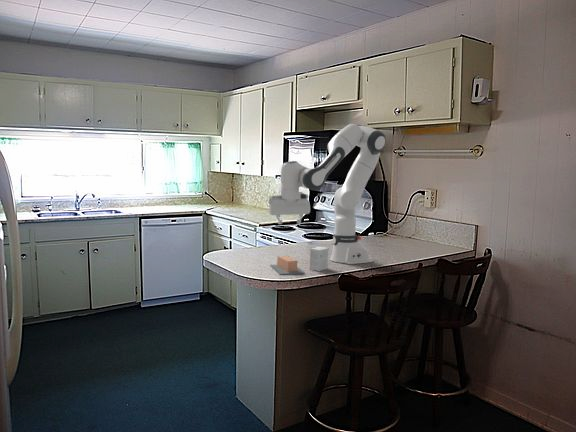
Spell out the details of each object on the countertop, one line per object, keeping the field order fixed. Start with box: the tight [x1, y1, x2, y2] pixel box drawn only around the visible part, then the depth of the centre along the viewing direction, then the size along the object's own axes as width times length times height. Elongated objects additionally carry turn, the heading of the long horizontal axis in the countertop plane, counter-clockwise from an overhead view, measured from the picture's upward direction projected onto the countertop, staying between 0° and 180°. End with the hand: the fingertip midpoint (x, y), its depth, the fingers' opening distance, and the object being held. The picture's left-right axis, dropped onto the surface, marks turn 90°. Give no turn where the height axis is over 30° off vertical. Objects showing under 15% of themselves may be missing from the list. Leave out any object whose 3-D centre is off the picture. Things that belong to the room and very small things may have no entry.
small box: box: [309, 246, 329, 272], centre depth 239 cm, size 8×6×10 cm
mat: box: [269, 264, 306, 276], centre depth 236 cm, size 12×18×1 cm, turn 17°
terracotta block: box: [276, 255, 298, 272], centre depth 236 cm, size 5×5×12 cm
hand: (289, 223), depth 236 cm, fingers open, 8 cm apart
